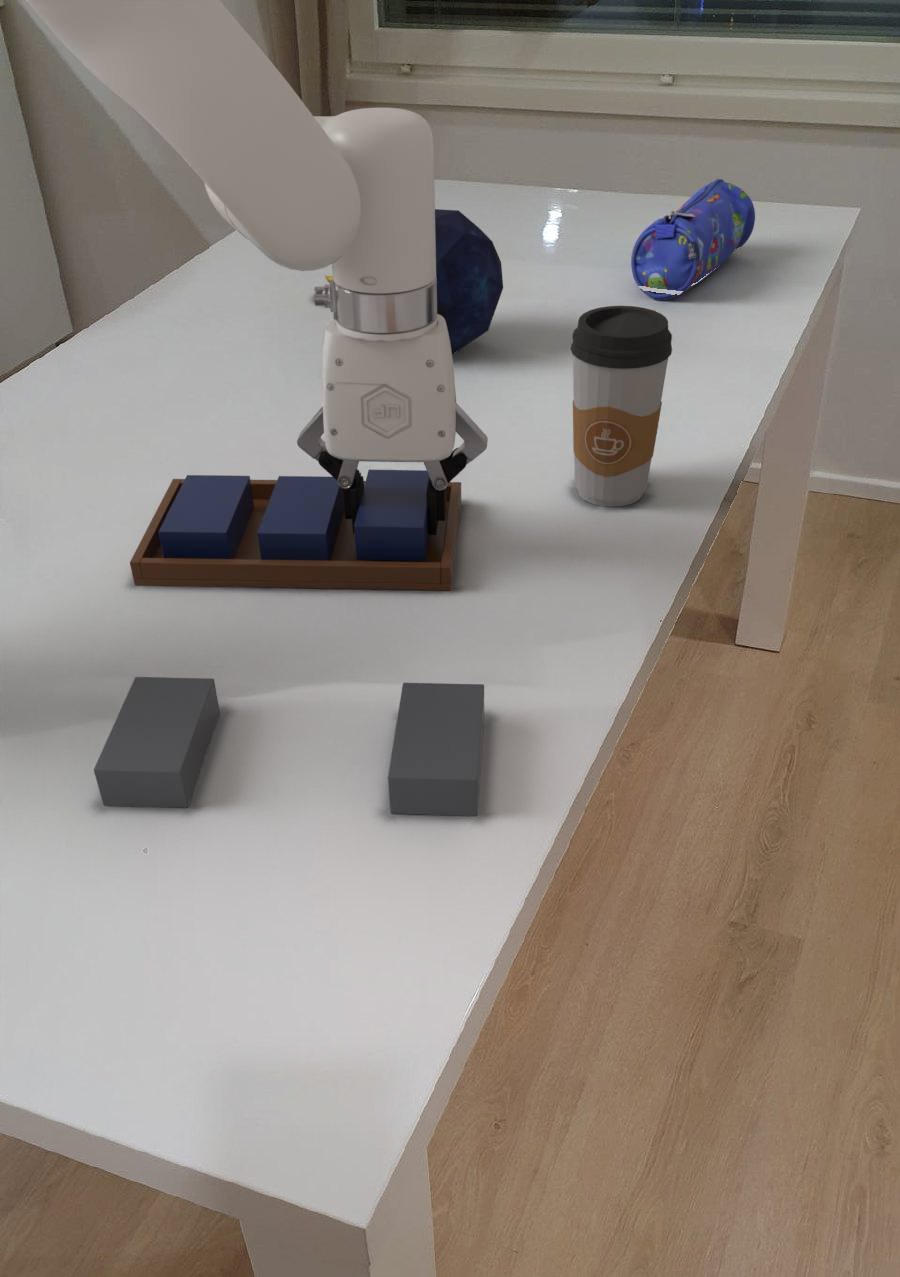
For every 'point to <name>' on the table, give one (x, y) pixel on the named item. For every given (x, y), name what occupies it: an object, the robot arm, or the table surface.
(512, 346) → the table surface
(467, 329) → the decorative orb
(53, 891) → the table surface
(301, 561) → the book tray
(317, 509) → the navy book
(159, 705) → the grey book
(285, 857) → the table surface
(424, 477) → the navy book
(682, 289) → the pencil case
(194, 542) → the navy book
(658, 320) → the coffee cup
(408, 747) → the grey book
